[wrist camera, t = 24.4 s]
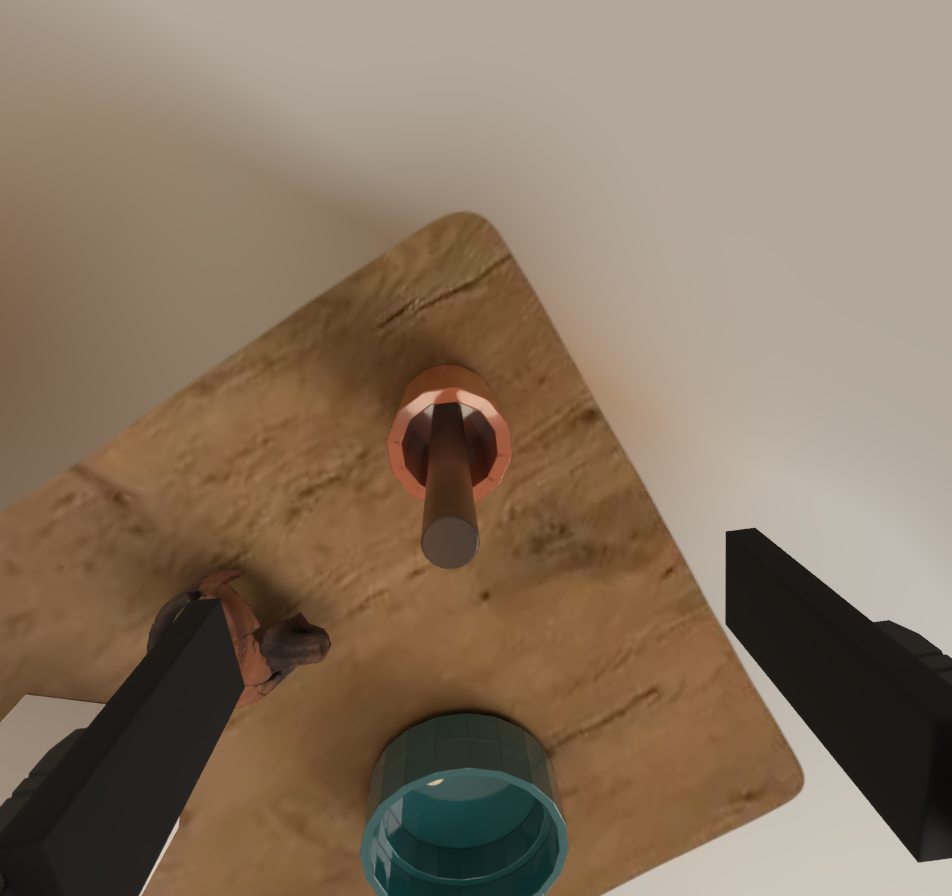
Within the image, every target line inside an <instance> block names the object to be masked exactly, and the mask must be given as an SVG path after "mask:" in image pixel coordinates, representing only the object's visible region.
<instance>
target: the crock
mask: <svg viewBox="0 0 952 896" xmlns="http://www.w3.org/2000/svg"><path fill="white" fill-rule="evenodd" d="M450 402H456V403H457V404H458V405H459V406H460V408H461V410H462V415H463V422H464V429H465V437H466V444H467V452H468V459H469V466H470V474H471V481H472V489H473V496H474V503H475V502H476V501H477V500H479V499H480V498H482V497H483V496H484V495H486V494H487V493H488V492H490V491H491V490H493V489H494V488H495V487H497V486H498V484H500V482H501V480H502V478H503V475H504V473H505V471H506V469H507V467H508V465H509V462H510V460H511V458H512V449H511V440H510V430H509V425H508V423H507V421H506V418H505V416H504V414H503V412H502V409H501V407H500V405H499V403H498V401H497V398H496V396H495V394H494V393H493V392H492V390H491V389H490V387H489V386H488V384H487V383H486V382H485V381H484V380H483V378H482V377H481V376H480V375H479V374H476V373H475V372H473V371H471V370H469V369H467V368H464V367H461V366H457V365H440V366H435V367H432V368H429V369H427V370H425V371H424V372H422V373H421V374H419V375H418V376H417V377H416V378H414V379H413V381H411V382H410V383H409V384H408V385H407V388H406V390H405V393H404V395H403V398H402V400H401V403H400V405H399V408H398V410H397V413H396V416H395V418H394V421H393V424H392V426H391V429H390V432H389V434H388V437H387V442H386V443H387V449H388V455H389V461H390V467H391V471H392V473H393V475H394V476H395V477H396V478H397V479H398V481H399V482H400V483H401V484H402V485H403V486H404V488H405V489H406V490H407V491H408V492H409V494H410V495H411V496H413V497H415V498H418V499H421V500H423V501H425V492H426V481H427V470H428V460H429V449H430V438H431V427H432V416H433V410H434V408H435V406H436V405H437V404H442V403H450Z"/></svg>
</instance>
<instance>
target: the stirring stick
mask: <svg viewBox="0 0 952 896" xmlns="http://www.w3.org/2000/svg"><path fill="white" fill-rule="evenodd" d="M421 548H422V551H423V553H424V555H425V557H426V558H427V559H428V560H429V561H430V562H431V563H432V564H434V565H435V566H438V567H440V568H444V569H456V568H460V567H462V566H464V565H466V564H468V563H469V562H470V561H471V560H472V559H473V558H474V557H475V555H476V553H477V551H478V549H479V533H478V526H477V518H476V511H475V503H474V496H473V489H472V481H471V474H470V466H469V459H468V452H467V444H466V437H465V429H464V422H463V415H462V410H461V408H460V406H459V405H458V404H457V403H456V402H450V403H442V404H437V405H436V406H435V408H434V410H433V416H432V427H431V438H430V449H429V460H428V470H427V481H426V492H425V503H424V514H423V524H422V535H421Z"/></svg>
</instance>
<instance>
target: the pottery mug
mask: <svg viewBox="0 0 952 896" xmlns="http://www.w3.org/2000/svg"><path fill="white" fill-rule="evenodd" d="M242 574H243V571H242V570H239V569H232V570H231V569H229V570H225V571H221V572H217V573H215V574H213V575H210V576H205V577H203V578H201V579H200V580H199V581H197V582H196V583H194V584H193V585H192V586H191V587H189V588H188V589H187V590H186V591H185V592H183V593H180V594H179V595H177V596H175V597H174V598H173V599H171V600H170V601H169V602H167V603H166V604H165V605H164V606H163V607H162V609H161V610H160V611H159V613H158V615H157V617H156V618H155V623H154V624H153V625H152V628H151V630H150V632H149V639H148V644H147V654H148V653H149V651H150V650H151V649H152V648H153V646H154V645H155V644H156V643H157V642H158V640H159V639H160V638H161V637H162V635H163V634H164V633H165V632H166V631H167V629H168V628H169V627H170V626H171V624H172V623H173V621H174V619H175V617H176V615H177V614H178V612H179V611H180V610H181V609H182V608H184V607H185V606H187V605H188V604H189V602H190V601H197V600H198V599H199V598H200V597H201V596H203V597H206V599H212V598H220V599H221V602H222V606H223V609H224V613H225V617H226V620H227V624H228V627H229V631H230V634H231V638H232V642H233V645H234V649H235V652H236V656H237V659H238V663H239V666H240V670H241V674H242V677H243V681H244V684H245V689H244V691H243V693H242V695H241V697H240V699H239V700H238V702H237V704H236V706H235V708H234V709H237V708H242V707H244V706H247V705H250V704H253V703H255V702H257V701H258V700H260V699H261V698H263V697H264V696H266V695H267V694H268V693H269V692H270V691H272V690H273V689H274V688H275V687H276V686H277V685H278V684H279V683H280V682H281V681H282V680H283V679H284V678H285V677H286V676H287V675H288V674H289V673H291V672H292V671H293V670H294V669H295V668H296V667H297V666H299V665H306V664H312V663H319V662H321V661H323V660H324V659H325V657H326V655H327V653H328V651H329V648H330V646H331V642H330V640H329V635H328V633H327V632H326V631H325V630H324V629H323V628H321V627H318V626H314V625H311V624H309V623H308V622H307V620H306V618H305V617H304V616H303V615H302V614H301V613H298V614H297V615H296V616H294V617H293V618H291V619H285V620H284V621H277V622H275V623H273V624H272V625H271V626H270V627H269V628H267V629H266V630H265V632H264V633H263V634H262V636H261V642H260V643H259V642H258V641H257V640H256V639H255V637H254V635H253V633H254V632H255V631H256V630H257V629H259V628H260V626H261V625H260V623H259V621H258V620H257V618H256V617H255V615H254V614H253V612H252V611H251V609H250V607H249V605H248V604H247V603H246V602H244V600H243V599H242V598H241V597H240V595H239V594H238V593H237V592H236V591H235V590H234V589H233V588H231V587H230V586H228V585H227V584H228V583H229V582H230V581H231V580H233V579H235V578H238V577H240V576H242ZM276 671H277V672H276ZM274 672H275V673H274ZM273 673H274V674H273Z"/></svg>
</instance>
